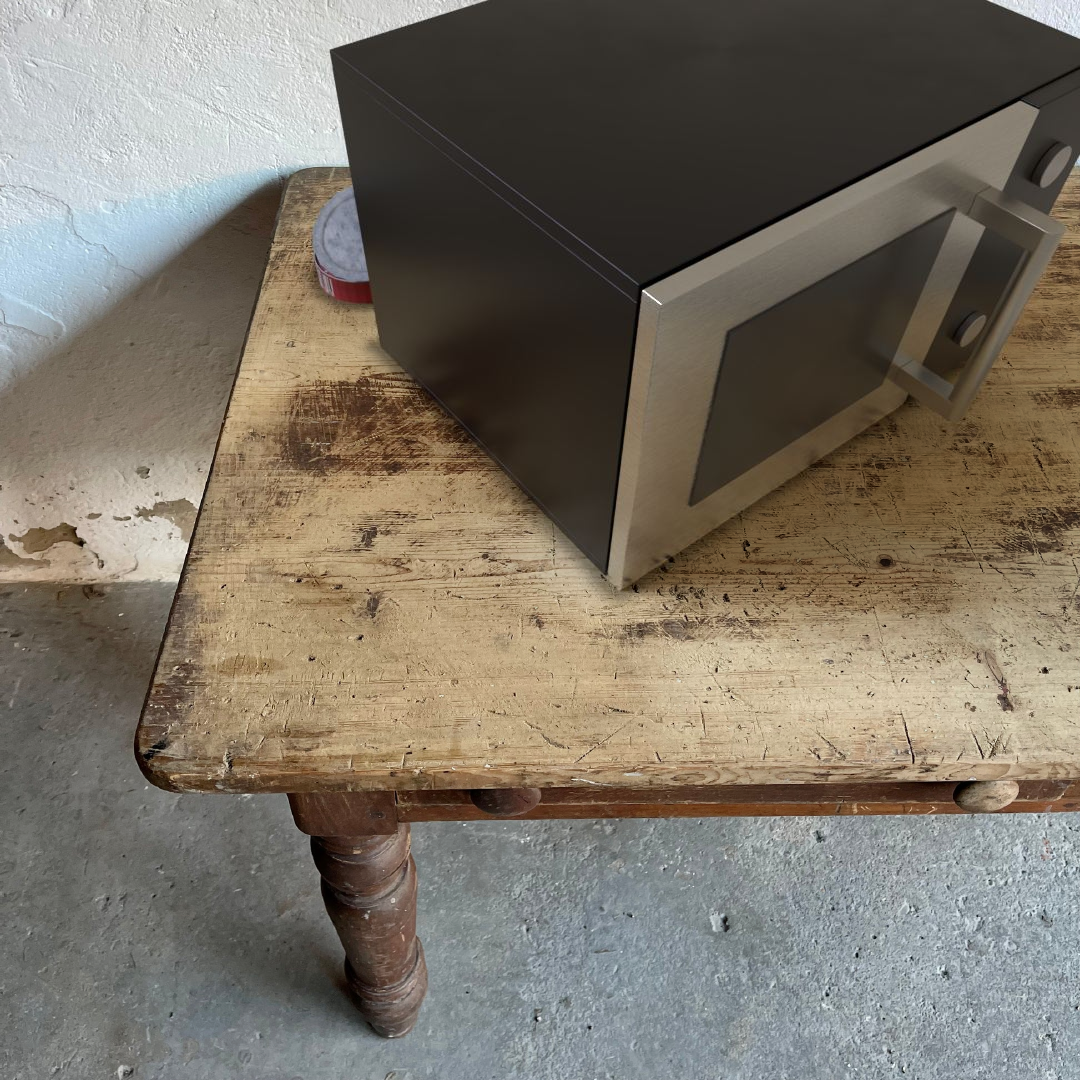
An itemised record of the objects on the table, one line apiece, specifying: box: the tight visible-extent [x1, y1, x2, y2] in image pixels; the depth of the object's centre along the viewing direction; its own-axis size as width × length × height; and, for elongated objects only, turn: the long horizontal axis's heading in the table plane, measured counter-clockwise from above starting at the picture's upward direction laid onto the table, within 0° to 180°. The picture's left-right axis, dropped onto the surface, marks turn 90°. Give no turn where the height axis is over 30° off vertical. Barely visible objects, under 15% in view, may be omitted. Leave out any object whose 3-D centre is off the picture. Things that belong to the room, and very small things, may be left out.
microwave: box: [329, 0, 1080, 576], centre depth 76 cm, size 36×46×28 cm
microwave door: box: [606, 101, 1067, 592], centre depth 64 cm, size 8×35×28 cm, turn 127°
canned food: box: [312, 184, 373, 304], centre depth 91 cm, size 11×10×10 cm
